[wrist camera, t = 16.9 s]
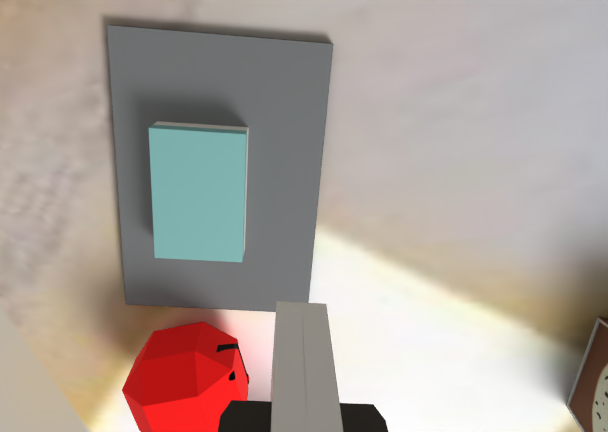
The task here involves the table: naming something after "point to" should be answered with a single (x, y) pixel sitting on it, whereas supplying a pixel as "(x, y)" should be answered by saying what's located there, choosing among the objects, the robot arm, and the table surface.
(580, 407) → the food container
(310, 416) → the robot arm
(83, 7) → the table surface
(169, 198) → the tile
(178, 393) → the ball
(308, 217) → the mat
